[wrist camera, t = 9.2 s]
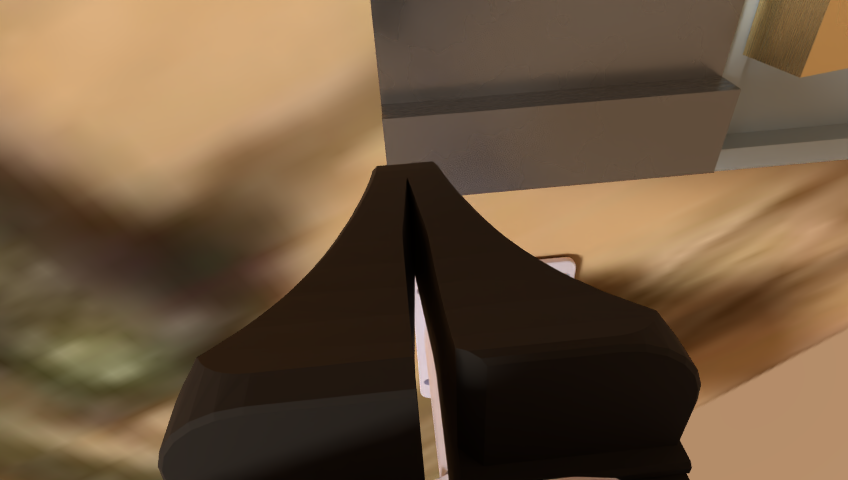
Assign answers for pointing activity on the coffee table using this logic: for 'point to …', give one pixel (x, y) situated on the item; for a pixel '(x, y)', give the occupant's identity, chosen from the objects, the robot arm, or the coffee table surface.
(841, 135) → the tray
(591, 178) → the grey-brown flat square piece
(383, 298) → the robot arm
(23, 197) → the coffee table surface
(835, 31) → the block
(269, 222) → the coffee table surface
